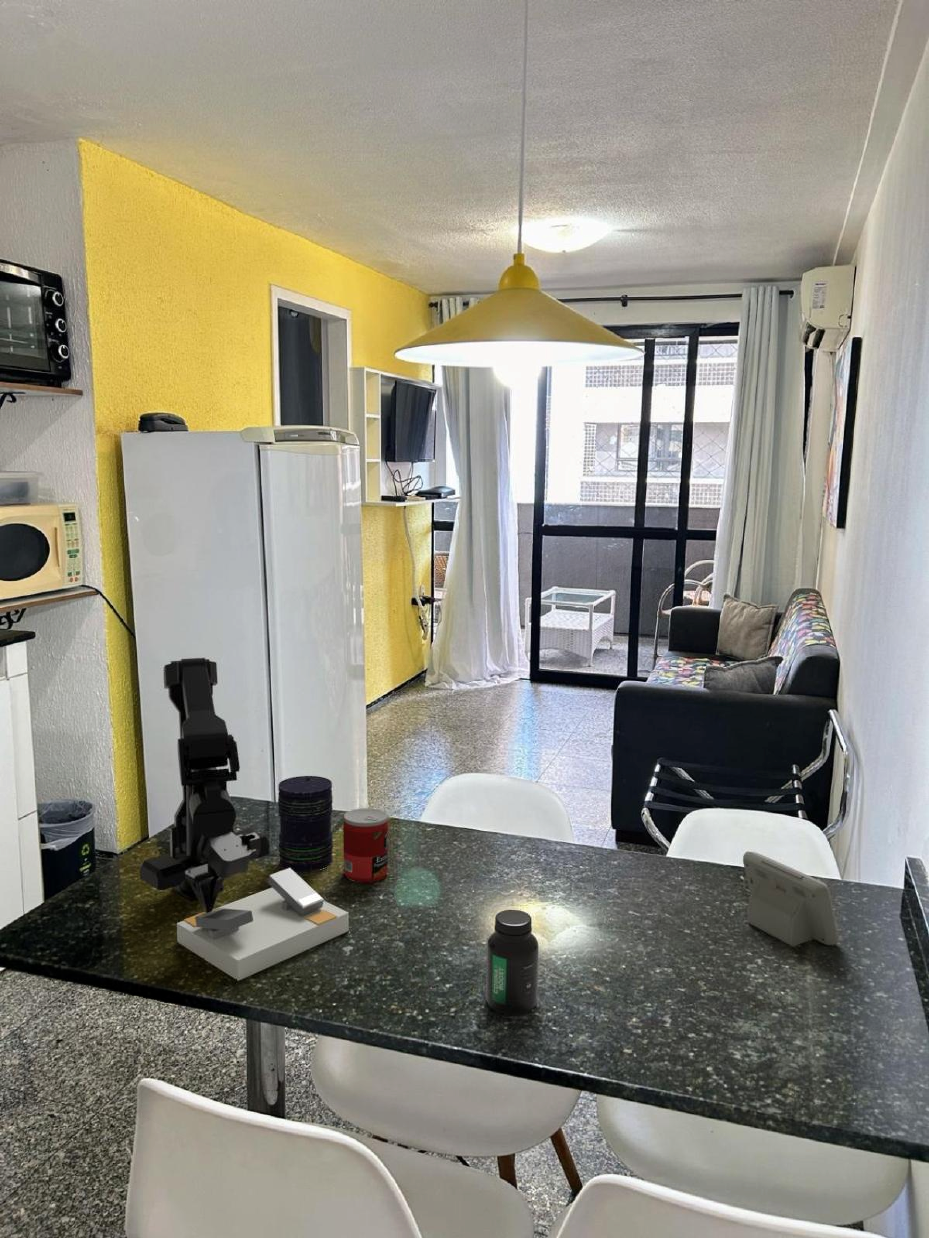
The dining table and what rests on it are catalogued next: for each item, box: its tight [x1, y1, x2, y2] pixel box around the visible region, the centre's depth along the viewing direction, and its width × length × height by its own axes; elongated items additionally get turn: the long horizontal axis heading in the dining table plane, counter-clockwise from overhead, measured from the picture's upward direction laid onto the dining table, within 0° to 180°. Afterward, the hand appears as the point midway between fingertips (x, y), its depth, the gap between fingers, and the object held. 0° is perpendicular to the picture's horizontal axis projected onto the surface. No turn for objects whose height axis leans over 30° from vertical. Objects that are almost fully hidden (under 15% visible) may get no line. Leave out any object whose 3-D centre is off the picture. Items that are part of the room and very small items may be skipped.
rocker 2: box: [267, 868, 325, 916], centre depth 140 cm, size 9×4×2 cm, turn 47°
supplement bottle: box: [485, 909, 540, 1016], centre depth 119 cm, size 7×7×12 cm
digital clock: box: [742, 851, 839, 947], centre depth 141 cm, size 16×9×11 cm, turn 18°
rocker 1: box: [195, 907, 253, 931], centre depth 131 cm, size 9×4×2 cm, turn 48°
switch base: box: [176, 887, 350, 981], centre depth 137 cm, size 16×20×4 cm
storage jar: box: [277, 775, 334, 874], centre depth 164 cm, size 10×10×15 cm
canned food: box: [342, 807, 389, 884], centre depth 159 cm, size 8×8×11 cm
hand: (207, 911), depth 134 cm, fingers closed, pressing on rocker 1
